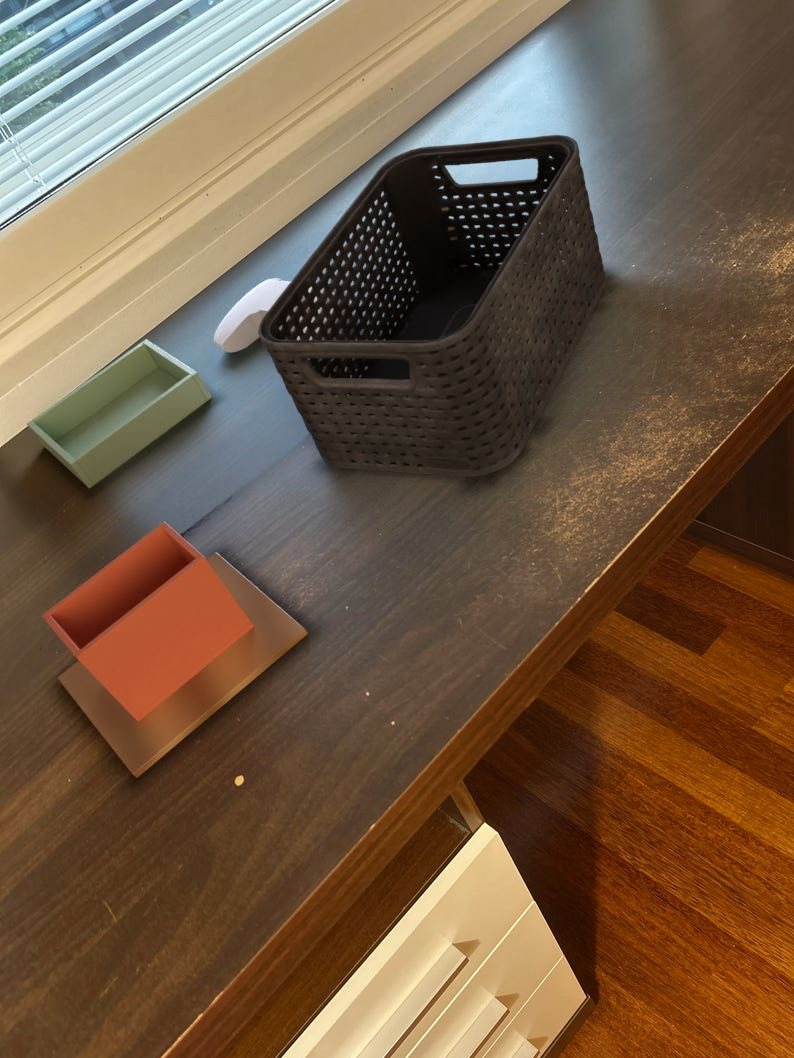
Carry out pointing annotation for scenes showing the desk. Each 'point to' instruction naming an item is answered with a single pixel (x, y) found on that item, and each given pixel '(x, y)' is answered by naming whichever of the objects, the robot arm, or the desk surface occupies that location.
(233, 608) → the coral bin
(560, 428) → the desk surface
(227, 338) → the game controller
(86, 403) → the green bin
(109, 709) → the metal plate
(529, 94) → the desk surface
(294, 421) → the desk surface
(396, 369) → the storage bin
